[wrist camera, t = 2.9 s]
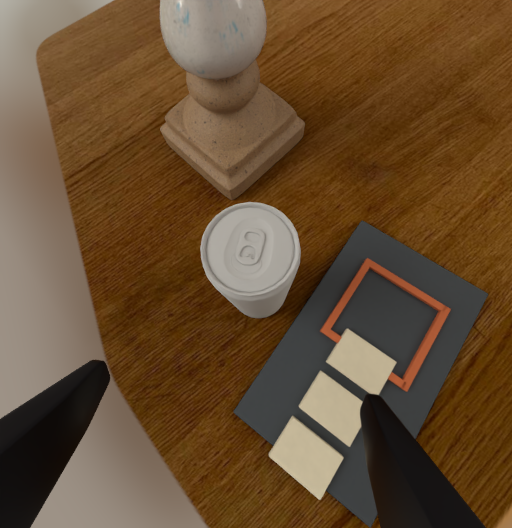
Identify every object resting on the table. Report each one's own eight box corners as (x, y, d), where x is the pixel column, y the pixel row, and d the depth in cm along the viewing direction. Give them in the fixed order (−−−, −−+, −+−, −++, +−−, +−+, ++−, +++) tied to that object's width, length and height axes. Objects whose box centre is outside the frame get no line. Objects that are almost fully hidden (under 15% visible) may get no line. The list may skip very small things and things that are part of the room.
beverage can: (226, 311, 23) (183, 284, 11) (240, 260, 24) (214, 190, 13) (279, 324, 22) (290, 311, 11) (290, 272, 24) (312, 210, 12)
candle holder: (235, 84, 30) (128, -734, 7) (305, 136, 28) (489, -856, 5) (163, 141, 28) (-288, -704, 5) (232, 202, 26) (-57, -877, 3)
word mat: (363, 530, 18) (369, 542, 17) (229, 417, 21) (227, 421, 19) (483, 295, 22) (494, 293, 21) (359, 222, 25) (364, 217, 24)
